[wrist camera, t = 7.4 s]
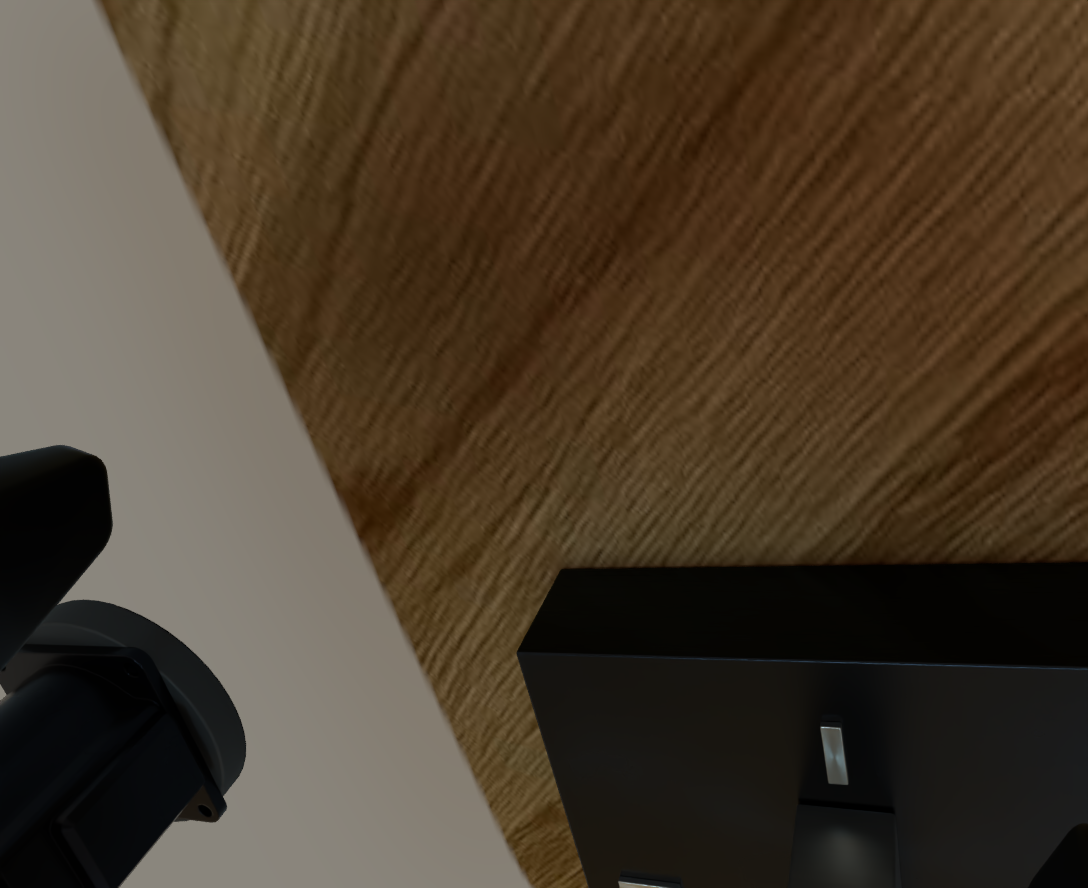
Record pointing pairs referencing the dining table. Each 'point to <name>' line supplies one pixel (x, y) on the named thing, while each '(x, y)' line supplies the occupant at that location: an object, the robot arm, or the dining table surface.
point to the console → (814, 715)
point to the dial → (844, 849)
